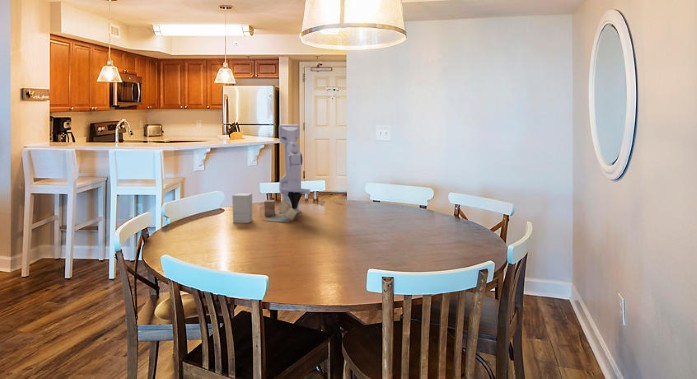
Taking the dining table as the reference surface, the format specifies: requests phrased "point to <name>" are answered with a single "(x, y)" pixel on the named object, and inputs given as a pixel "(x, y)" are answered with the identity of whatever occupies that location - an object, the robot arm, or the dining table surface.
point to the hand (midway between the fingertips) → (294, 208)
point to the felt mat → (278, 218)
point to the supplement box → (242, 208)
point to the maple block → (289, 210)
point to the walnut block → (269, 207)
